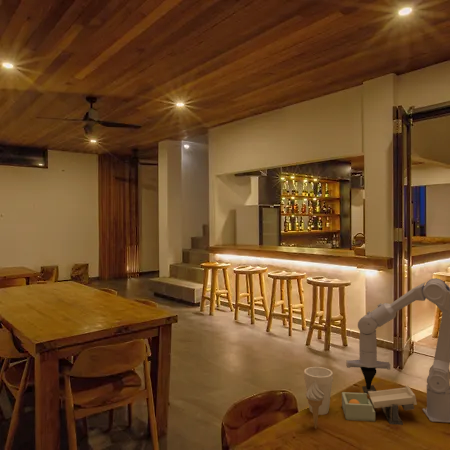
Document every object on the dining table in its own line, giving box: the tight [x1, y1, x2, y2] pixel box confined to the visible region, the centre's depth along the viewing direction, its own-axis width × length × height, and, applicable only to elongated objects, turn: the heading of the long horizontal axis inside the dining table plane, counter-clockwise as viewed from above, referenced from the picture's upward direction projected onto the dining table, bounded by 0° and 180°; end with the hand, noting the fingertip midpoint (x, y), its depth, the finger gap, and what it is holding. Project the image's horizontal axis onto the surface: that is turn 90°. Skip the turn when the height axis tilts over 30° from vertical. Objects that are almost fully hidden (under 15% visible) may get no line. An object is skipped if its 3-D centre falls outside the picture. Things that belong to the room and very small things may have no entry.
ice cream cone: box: [305, 381, 324, 430], centre depth 121 cm, size 6×6×15 cm
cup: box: [341, 391, 376, 422], centre depth 129 cm, size 9×9×5 cm
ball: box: [348, 399, 360, 404], centre depth 130 cm, size 4×4×4 cm
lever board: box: [361, 384, 418, 411], centre depth 132 cm, size 14×15×5 cm
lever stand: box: [381, 405, 404, 426], centre depth 128 cm, size 4×11×6 cm, turn 171°
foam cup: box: [303, 366, 334, 416], centre depth 132 cm, size 10×9×13 cm
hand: (368, 388), depth 138 cm, fingers closed, pressing on lever board
